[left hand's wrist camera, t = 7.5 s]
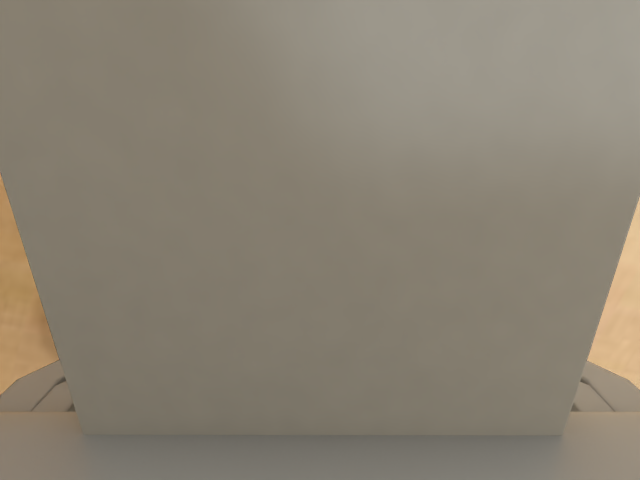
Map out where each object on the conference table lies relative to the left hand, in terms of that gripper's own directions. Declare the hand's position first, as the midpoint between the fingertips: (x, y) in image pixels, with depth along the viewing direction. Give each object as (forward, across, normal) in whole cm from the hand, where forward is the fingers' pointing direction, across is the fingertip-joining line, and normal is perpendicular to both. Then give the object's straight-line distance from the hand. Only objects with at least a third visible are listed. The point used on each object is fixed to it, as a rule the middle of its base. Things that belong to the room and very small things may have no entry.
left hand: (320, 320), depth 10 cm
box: (+8, 0, -8) cm, 11 cm away
